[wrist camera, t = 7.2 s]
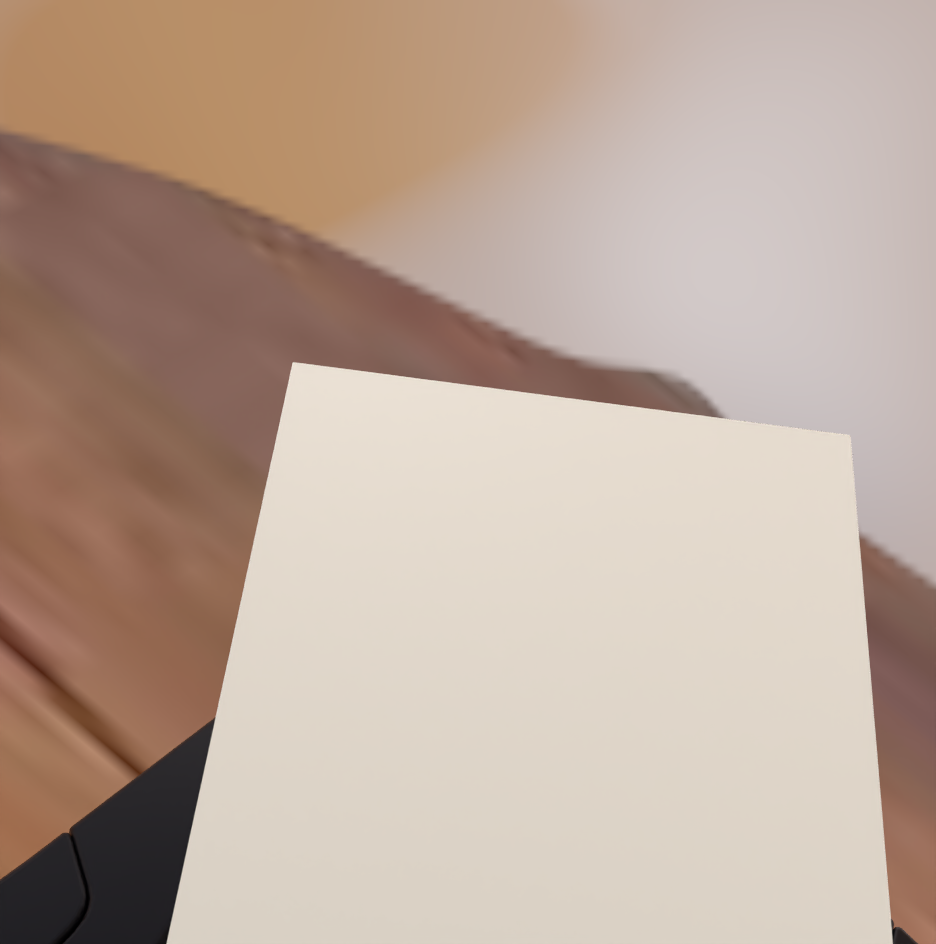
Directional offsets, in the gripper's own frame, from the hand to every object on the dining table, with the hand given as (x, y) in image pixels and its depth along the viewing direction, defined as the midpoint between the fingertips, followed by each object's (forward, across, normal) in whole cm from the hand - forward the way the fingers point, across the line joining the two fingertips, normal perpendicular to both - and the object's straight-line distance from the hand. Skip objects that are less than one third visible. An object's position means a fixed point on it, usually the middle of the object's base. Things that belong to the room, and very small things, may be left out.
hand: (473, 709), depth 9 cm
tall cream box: (+4, 0, +6) cm, 7 cm away
